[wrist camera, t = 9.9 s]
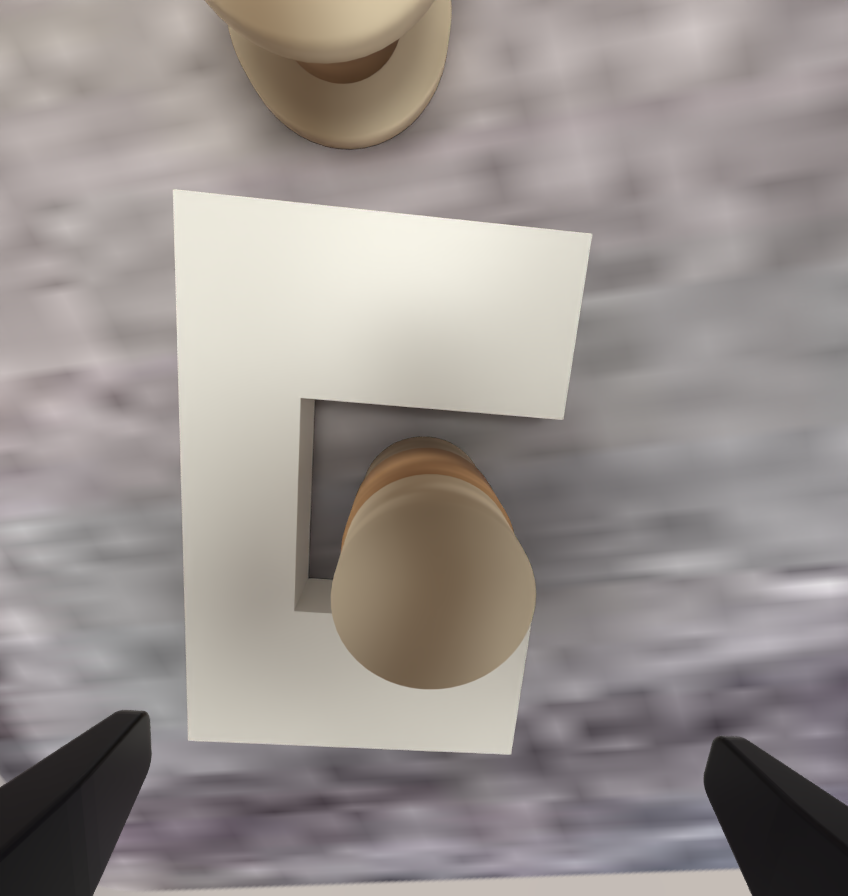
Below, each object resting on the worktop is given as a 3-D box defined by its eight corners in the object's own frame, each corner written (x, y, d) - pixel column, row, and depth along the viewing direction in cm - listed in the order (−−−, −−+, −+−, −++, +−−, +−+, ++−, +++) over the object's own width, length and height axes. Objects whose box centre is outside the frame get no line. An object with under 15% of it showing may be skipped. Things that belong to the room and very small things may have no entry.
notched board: (565, 249, 17) (592, 233, 15) (499, 707, 21) (510, 754, 19) (208, 212, 16) (172, 189, 14) (214, 693, 21) (188, 740, 18)
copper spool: (492, 439, 19) (554, 507, 11) (477, 558, 20) (524, 697, 12) (363, 429, 18) (331, 491, 10) (355, 549, 19) (321, 687, 12)
